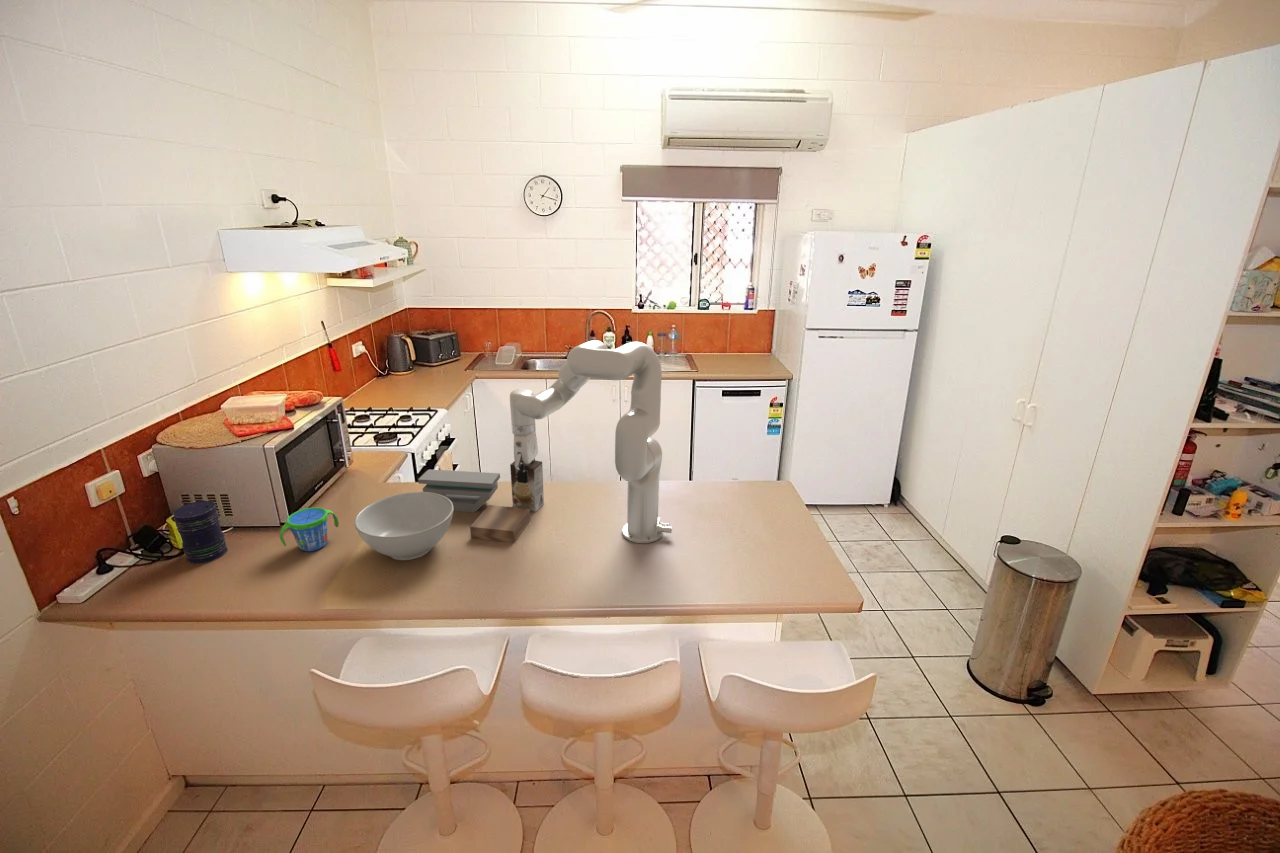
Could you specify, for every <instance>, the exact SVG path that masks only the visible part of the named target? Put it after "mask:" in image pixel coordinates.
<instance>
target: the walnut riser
mask: <svg viewBox="0 0 1280 853" xmlns="http://www.w3.org/2000/svg"><path fill="white" fill-rule="evenodd" d="M531 520H532V519H531V511H530V509H524V508H515V507H513V506H502V505H494V504H493V505H491V504H488V505H487V506H486V508H485V509H484V510H483V511H482V513H481V514H479V516H477V518H476V519H475V520H474V521H473V523H472V524H471V525H470V526H469V528H470V529H469V530H470V538H471V539H477V540H484V541H485V540H487V541H494V542H504V543H505V542H506V543H513V544H514V543H516V542H517V540H518V539H519V538H520V536H521V535H522V533H523V532H524V530H525V529H526V527H527V526H528V525H529V523H530V522H531Z"/></svg>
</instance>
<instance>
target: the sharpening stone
mask: <svg viewBox="0 0 1280 853" xmlns="http://www.w3.org/2000/svg"><path fill="white" fill-rule="evenodd" d="M500 479H501V473H499V472H484V471H467V470H465V471H464V470H463V471H462V470H449V469H448V470H447V469H446V470H445V469H444V470H443V469H429V468H428V470H426V471H425V472H424V473H423V474H422V475H421V476H420V477H419V478H417V481H418V484H421V485H425V486H424V487H423V488H422V492H430V493H436V494H440V495H443V496H445V497H447V498H448V499H449V500H450V501H451V502H452V503H453V506H454V511H455V512H470V513H475V512H477V511H478V510H479V509H480V508H481V507H482V506H483V505H484V504H486V503H487V502H488V501H489V500H490V499H491V498H492V497H493V495H494V494H495V492H496V491H497V489H498V487H499V486H498V481H499V480H500ZM454 511H453V512H454Z"/></svg>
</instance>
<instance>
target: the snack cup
mask: <svg viewBox="0 0 1280 853" xmlns="http://www.w3.org/2000/svg"><path fill="white" fill-rule="evenodd" d="M329 514H332V518H333V522H334V527H336V528H338V527H339V524H340V523H339V519H338V515H337V514H336V513H335V512H333V511H332V510H330V509H326V508H323V507H316V506H315V507H307V508H302V509H299V510H297V511H295V512H292V513H291V514H290V515H289V516H288V517H287V519H286V522H285V523H284V525H282V527H281V529H280V532H279V540H280V542H281V544H282V545H283V546H284V547H287V544H286V541H285V538H284V533H285V532H286V530H288V529H289V530H290V532H291V533H292V535H293V537H294V539H295V541H296V544H297V547H298V549H299V550H300V551H304V552H314V551H317V550H319V549H321V548H323V547H326V545H327V543H328V516H329Z"/></svg>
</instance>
